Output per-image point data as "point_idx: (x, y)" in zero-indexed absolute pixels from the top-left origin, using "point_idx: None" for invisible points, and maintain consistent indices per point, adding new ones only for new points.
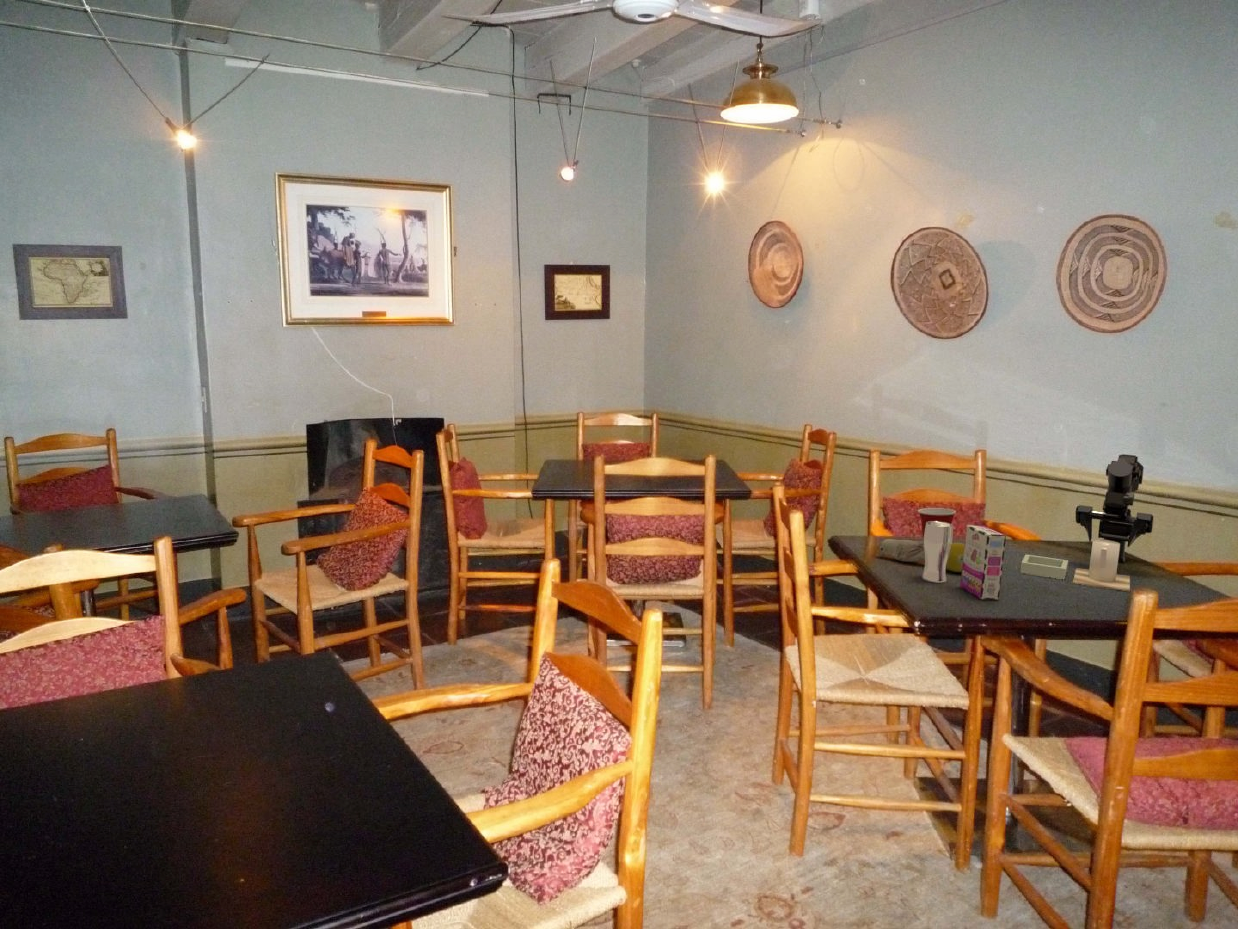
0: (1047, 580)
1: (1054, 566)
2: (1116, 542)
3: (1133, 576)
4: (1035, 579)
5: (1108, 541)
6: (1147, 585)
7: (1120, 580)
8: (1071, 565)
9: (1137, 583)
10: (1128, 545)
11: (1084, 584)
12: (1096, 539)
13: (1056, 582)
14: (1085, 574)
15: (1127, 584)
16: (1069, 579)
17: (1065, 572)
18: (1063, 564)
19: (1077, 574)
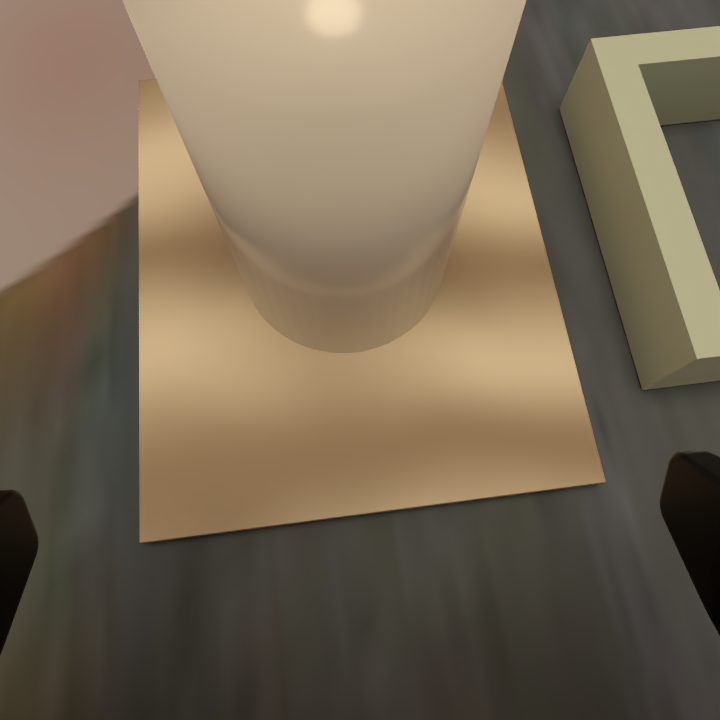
0: (635, 32)
1: (685, 54)
2: (176, 35)
3: (113, 665)
4: (698, 7)
5: (305, 22)
6: (11, 390)
7: (208, 304)
8: (698, 677)
9: (86, 398)
10: (2, 496)
11: None
12: (505, 26)
13: (576, 25)
14: (476, 297)
15: (154, 219)
16: (538, 149)
17: (587, 108)
18: (663, 169)
19: (524, 250)
